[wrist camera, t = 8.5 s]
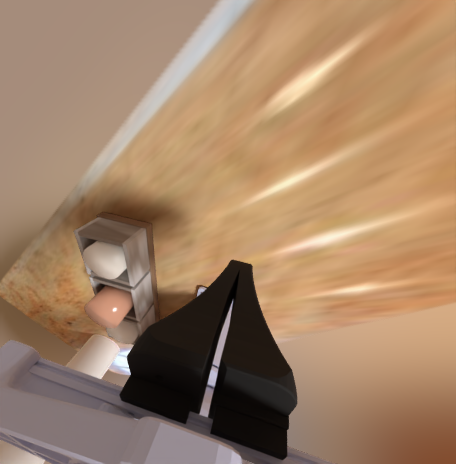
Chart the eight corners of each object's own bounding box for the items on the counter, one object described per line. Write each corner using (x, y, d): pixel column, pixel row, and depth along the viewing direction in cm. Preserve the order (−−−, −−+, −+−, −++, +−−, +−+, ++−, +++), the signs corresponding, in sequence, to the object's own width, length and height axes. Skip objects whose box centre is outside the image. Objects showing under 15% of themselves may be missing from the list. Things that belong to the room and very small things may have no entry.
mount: (160, 324, 36) (145, 349, 32) (125, 313, 36) (107, 336, 33) (151, 223, 25) (128, 243, 21) (102, 212, 25) (71, 228, 22)
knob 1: (142, 262, 27) (123, 283, 23) (112, 254, 27) (88, 273, 24) (139, 233, 24) (116, 252, 21) (105, 225, 25) (78, 242, 22)
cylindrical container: (110, 335, 42) (-60, 554, 21) (125, 355, 45) (-10, 562, 24) (85, 332, 44) (-92, 529, 23) (100, 351, 48) (-43, 539, 26)
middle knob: (139, 307, 29) (121, 332, 26) (111, 298, 29) (89, 322, 26) (136, 284, 26) (115, 309, 23) (105, 276, 27) (80, 298, 24)
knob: (150, 324, 34) (136, 347, 31) (126, 317, 35) (109, 338, 31) (148, 307, 32) (132, 330, 28) (122, 299, 32) (103, 320, 29)
